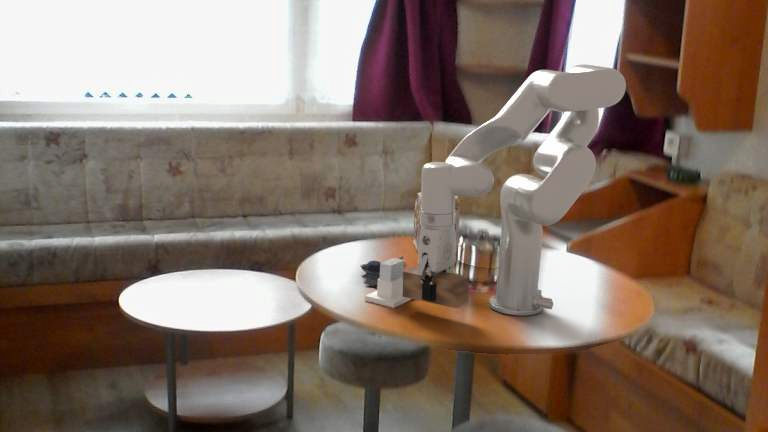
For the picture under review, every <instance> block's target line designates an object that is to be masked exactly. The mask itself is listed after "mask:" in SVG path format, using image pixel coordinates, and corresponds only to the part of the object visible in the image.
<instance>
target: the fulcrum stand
mask: <svg viewBox="0 0 768 432" xmlns="http://www.w3.org/2000/svg"><path fill="white" fill-rule="evenodd" d="M403 271H405V259H403V260H402V259H399V258H396V257H392V258H390V259H387V260H385V261H382V263H380V278H379V279H378V283H377V287H376V290H374V291H372V292H370V293H368V294H366V295H364V302H369V303H372V302H373V303H372V304H378V305H382V306H384V307H388V308H393V309H395V308H397V307H400V306H401V305H403V304H405V303H406V302H409V301H411V300H412V299H411V298H406V297H403Z"/></svg>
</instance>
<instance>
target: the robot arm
mask: <svg viewBox="0 0 768 432" xmlns="http://www.w3.org/2000/svg"><path fill="white" fill-rule="evenodd" d="M626 87H627V83H626V79H625V77H624V75H623V74H622V73H621V72H620V71H619V70H617V69H615V68H612V67H606V66H600V65H599V66H598V65H592V64H577V65H574V66H572V67H571V68H569V70H567V72H566V71H557V70H552V69H539V70H536V71H534V72H532V73H531V74H530V75H529V76H528V77H527V78H526V80H525V81H523V83H522V84H521V85H520V86H519V87H518V89H517V90H516V91H515V92H514V94H513V95H512V96H511V98H509V100H508V101H507V103H506V104H505V105H504V106H503V107H502V108H501V109H500V111H499V112H498V113H497V114H496V115H495V116H494V117H493V118H491V119H490V120H488V121H486V122H485V123H483V124H481V125H480V126H479V127H478V128H475V129H474V130H472V131H471V132H470V133H469V134H467V135H466V136H465V137H464V138H462V140H461V141H460V142H459V143H458V144H457V146H455V148H454V149H453V150H452V151H451V152H450V154H449V155H448V156H447V158H446V159H445V162H444V161H443V162H442V161H431V162H428V163H425V164H424V165H423V166H422V167H421V178H420V179H421V181H420V184H421V186H420V188H421V189H420V192H421V214H420V225H421V226H422V227H421V231H420V239H419V249H418V252H417V253H418V254H417V267H419V269H418V272H417V275H418V276H419V277H420V279H421V283H422V299H423V300H427V301H431V302H434V301H435V300H436V284H434V282H435V276H436V273H439V272H441V271H442V272H448V273H449V269H450V267H451V266H452V265H453V266H454V265H455V264H456V261H457V252H456V232H455V225H454V219H455V196H457V197H461V196H462V197H471V198H478V197H482V196H484V195H486V194H488V192H490V191H491V190H492V188H493V186H494V181H495V178H494V174H493V172H492V171H491V169H490V168H489V167H488V166H487V165H484V164H483V163H482V162H483V161H484V160H486V158H488V157H489V156H491V155H492V154H494V153H495V152H497V151H499V150H502V149H505V148H509V147H512V146H513V147H514V146H516V145H519V144H521V143H523V142H525V141H526V140H527V139H528V138H529V137H530V135H531V134H532V133H533V131H535V129H536V128H538V126H539V125H540V123H541V122H542V121H543V120H544V118H546V116H547V115H548V114H549V113H550V112H551V110H552V111H555V112H561V113H563V114H562V116H561V117H560V119H559V121H558V122H557V123H556V125H555V126H554V128H552V130H551V131H550V133H549V134H548V135H547V137H546V138H544V140H543V141H542V143H541V145H539V146H538V148H537V150H536V151H535V153H534V156H533V159H532V164H533V167H534V170H535V172H537V173H538V174H539V175H540V176H543V177H544V179H543V178H542V179H541V178H540V177H536V176H534V175H531V174H527V173H519V174H517V173H516V174H514V175H512V176H510V177H509V178H508V179H506V181H504V183H503V185H502V188H501V189H500V196H499V197H500V198H499V199H500V200H499V201H500V203H499V204H500V213H501V234H500V241H499V242H500V243H499V257H498V268H497V279H496V294H495V295H494V296H491V297H490V298H489V299H488V306H489V307H490V308H491V309H493V310H494V311H496V312H498V313H502V314H505V315H510V316H521V317H522V316H523V317H524V316H534V315H538V314H540V313H541V312H542V311H543V308H544V309H547V310H552V309H553V307H554V301H553V299H552V298H550V297H545V296H543V295H542V290H541V289H539V278H540V269H541V268H540V267H541V258H542V249H543V248H542V246H543V238H544V234H543V226H551V225H553V224H556V223H558V222H559V221H560V220H561V219H562V218H563V217H564V216H565V215H566V214H567V213H568V211H569V210H570V209H571V207H573V205H574V204H575V202H576V201H577V200H578V199H579V197H580V196H581V194H582V193H583V192H584V190H586V188H587V187H588V185H589V183H591V181H592V179H593V178H594V175H595V171H596V167H597V165H596V164H597V160H596V157H595V154H594V153H593V151H592V149H590V148H589V147H588V146H589V144H590V143H591V141H592V140H593V138H594V137H595V135H596V133H597V132H598V131H597V130H598V128H599V123H600V122H599V119H600V112H599V111H600V110H599V109H604V108H609V107H611V106H614V105H616V104H617V103H619V102H620V101H621V100H622V99H623V97H624V95H625V92H626ZM428 267H430V269H431V270H428V269H427V268H428ZM427 272H428V273H431V278H430V276H429V275H427Z"/></svg>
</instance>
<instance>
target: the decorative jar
mask: <svg viewBox="0 0 768 432" xmlns="http://www.w3.org/2000/svg"><path fill="white" fill-rule="evenodd" d="M414 200H415V201H414V202H415V203H414V214H413V215H414V216H413V227H412V228H413V231H412V235H413V236H412V241H413V245H414V247H415V250H416V252H417V253H418V249H419V239H420V231H421V227H422V226H421V225H420V214H421V191H420V192H418V193H416V196H415V198H414ZM460 206H461V204H460V199H459V196H455V214H456V216H455V219H454V223H455V226H456V253H457V250H458V244H459V243H458V242H459V231H460V230H459V228H460V227H459V225H460V215H461V214H460V210H461V207H460Z"/></svg>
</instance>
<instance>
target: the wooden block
mask: <svg viewBox="0 0 768 432" xmlns="http://www.w3.org/2000/svg"><path fill="white" fill-rule="evenodd" d="M418 269H419V267H418V266H416V265H413V266H411V267H410V268H407V269H404V271H403V297H406V298H411V300H416V301H420V302H425V303H431V304H434V305H439V306H445V307H449V308H454V309H460V308H461V307H462V306H464V305H466V304H468V303H469V282H470V280H469V278H470V276H469V275H464V274H457V273H448V272H442V271H441V272H439V273H436V276H435V282H434V284H436V300H435V301H434V302H431V301H427V300H423V299H422V283H421V279H420V277H419V276H418V275H417V272H418ZM428 270H431V269H428ZM427 275H429V276H430V278H431V273H428V272H427Z"/></svg>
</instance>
